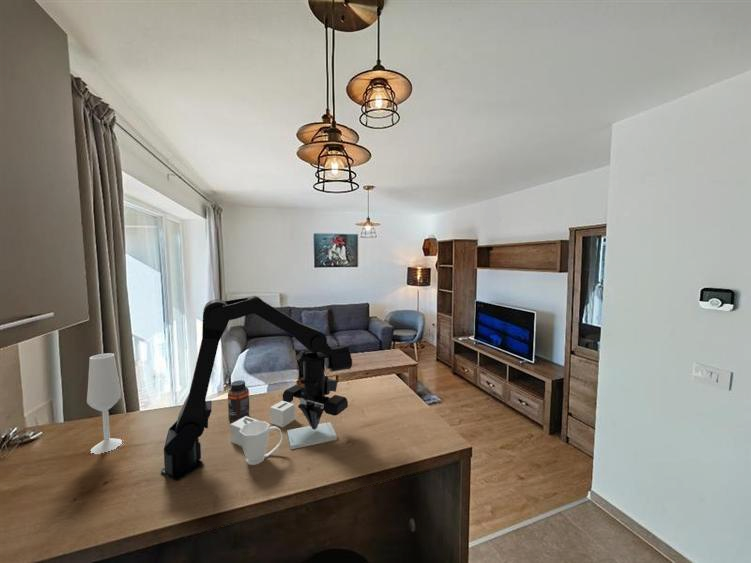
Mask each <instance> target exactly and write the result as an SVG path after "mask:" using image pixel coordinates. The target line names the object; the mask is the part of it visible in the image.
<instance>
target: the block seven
mask: <svg viewBox="0 0 751 563" xmlns="http://www.w3.org/2000/svg"><path fill="white" fill-rule="evenodd" d="M253 421H260V420H259V419H256V418H254V417H250V416H249V417H247V416H245V417H243V418H241V419H239V420H238V421H236V422H231V423H230V442H231V443H233V444H235V445H237V446H239V447H242V443H241V438H240V433H239V431H240V429H241V428H242V426H243V425H245V424H248V423H250V422H253Z"/></svg>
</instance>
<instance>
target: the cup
mask: <svg viewBox="0 0 751 563" xmlns="http://www.w3.org/2000/svg"><path fill="white" fill-rule="evenodd" d="M274 430H277V431H278V432H279V433H280V440H279V442H278V443H277V445H276V446H274V448H273V449H271V450H270V451H269V452H267V453H266V450H267V446H268V441H269V436H270V434H269V433H270V432H272V431H274ZM239 433H240V438H241V443H242V446H241V447H242V448H241V449H242V451H243V455H244V457H245V459H246V460H245V463H247V464H248V465H250V466H255V465H259V464H261V463H262V462H264V460H265V458H268V457H270V456H271V455H272V454H273V453H274V452H275V451H277V450H278V448H280V446H281V445H282V442H283V440H284V437H283V433H282V430H281V428H279V426H277V425H273V426H271V423H268V422H267V421H265V420H259V421H253V422H250V423H248V424H245V425H243V426H242V428H241V429H240V431H239Z"/></svg>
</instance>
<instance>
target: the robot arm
mask: <svg viewBox="0 0 751 563" xmlns="http://www.w3.org/2000/svg"><path fill="white" fill-rule="evenodd" d="M252 314H254V315H256V316H258V317H260V318H262V319H263V320H265V321H266V322H268V323H270V324H272V325H274V326H275V327H277V328H278V329H281V330H282V331H284V332H286V333H287V334H289V335H290V336H292V337H294V338H295V339H296V340H297V341H298V342H299V343H300V344H301V345H303V346H304V347H305V348H306V349H307V350H308V352H305V351H304V350H302V349H301V350H300V352H299V353H297V355H296V356H295V359H296V360H297V361H298V363H303V378H301V379H300V384H303V385H297V384H294V385H292V386H291V387H288V388H286V389H285V390H283V393H282V401H285V402H289V403H292V402H293V401H294V398H296V399H298V401H299V404H298V405H297V408H298V409H300V410H301V412H302V414H303V415H304V416H305V418H306V420H307V422H308V423H309V426H311V427H312V429H314V430H315V429H316V428H317V427H318V424H320V421H321V419H322V418H321V417H322V415H323V413H325V414H328V415H330V416H339V414H341V413H343V411H344V410H346V409H347V408H348V406H349V405H348V404H349V402H348V401H349V400H348V398H346V397H345V396H342V395H337V394H333V395H332V396H331V397H329V396H328V395H330V393H331V392H334V393H335V392H337V387H338V379H337V380H336V379H332V378H329V376H328V375H325V374H326V372H325V370H329V371H330V372H331V373H333V372H339V371H346V370H350V369H351V368H352V366H353V358H352V354H351V352H350V346H348V345H347V344H344V345H343V344H342V345H340V346H333V347H331V346H330V345H329V344H328V339H327V338H328V337H327V336H326V334H325V333H323V332H322V331H321V330H319V329H318V328H316V327H315V326H311V325H308V324H306V323H305V324H304V323H303V322H299V321H297V320H295V319H293V318H292V317H290V316H288V315H287V314H285V313H284V312H282V311H281V310H279V309H277V308H275V307H274V306H272V305H270V304H269V303H267V302H266V301H264V300H263V299H261V298H260V297H259V296H258V295H251V296H248V297H244V298H243V297H242V298H234V299H228V300H223V299H218V298H215V299H212V300H210V301H207V303H205V305H204V307H203V312H202V328H201V329H202V332H201V333H202V334H201V342H200V347H199V351H198V355H197V359H196V362H195V367H194V372H193V375H192V380H191V383H190V384H191V385H190V387H189V393H188V394H187V397H186V399H185V400H184V402H183V405H182V406H181V409H180V412H179V413H178V417H177V419H176V421H175V422H174V423H173V424H172V425H171V426H170V427H169V428H168V431H167V435H166V439H165V442H164V445H163V446H164V447H163V459H164V460H163V461H164V467H163V468H161V469H160V473H161V474H163V475H165V476H166V477H168V478H170V479H172V480H174V482H177V481H180V480H181V479H183V478H185V477H186V476H188V475H189V474H191V473H193V472H194V471H196V470H197V469H199V468H201V467H203V466H204V461H202V460H201V459H202V450H201V449H202V446H201V442H200V439H199V438H200V437H201V436H202V435H203V433H204V431H205V429H208V428H209V419H210V416H211V413H212V400H206V399H207V394H208V390H209V385H210V382H211V378H212V373H213V369H214V364H215V361H216V355H217V351H218V347H219V344H220V340H221V339H222V336H223V335H224V333H225V331H226V330H227V326H228V325H229V322H230V321H233V320H238V319H241V318H243V317H247V316H249V315H252ZM325 368H326V369H325Z"/></svg>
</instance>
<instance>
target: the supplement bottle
mask: <svg viewBox="0 0 751 563" xmlns="http://www.w3.org/2000/svg"><path fill="white" fill-rule="evenodd" d="M227 406H228V407H227V408H228V409H227V411H228V421H229V422H231V423H234V422H236V421H238V420H239V419H241V418H243V417H245V416H247V417H250V416H251V414H250V413H251V412H250V390H249V388H248V387H247V386H246V381H245V380H244V379H242V380H241V379H239V380H235V381H232V382H231V383H230V389H229V390H228V391H227Z"/></svg>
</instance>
